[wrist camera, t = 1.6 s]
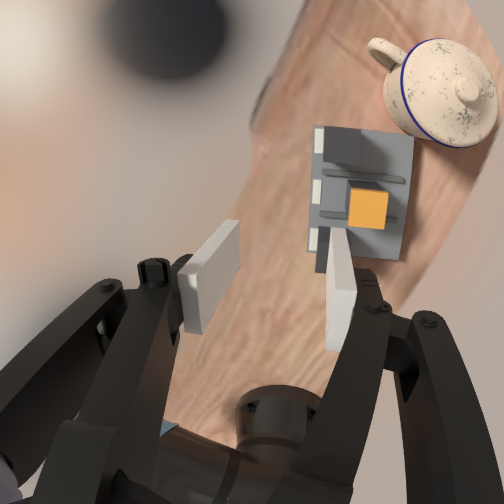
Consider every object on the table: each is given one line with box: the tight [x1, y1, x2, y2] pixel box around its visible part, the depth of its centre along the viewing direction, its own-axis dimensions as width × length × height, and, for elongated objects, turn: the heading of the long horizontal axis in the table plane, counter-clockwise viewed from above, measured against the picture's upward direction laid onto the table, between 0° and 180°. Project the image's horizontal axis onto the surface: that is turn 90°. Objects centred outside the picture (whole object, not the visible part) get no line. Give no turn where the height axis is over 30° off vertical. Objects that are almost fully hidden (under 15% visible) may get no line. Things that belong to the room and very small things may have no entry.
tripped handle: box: [345, 179, 389, 229], centre depth 27 cm, size 3×3×5 cm
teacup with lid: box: [367, 38, 499, 148], centre depth 20 cm, size 12×9×12 cm
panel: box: [307, 125, 414, 273], centre depth 28 cm, size 13×10×6 cm
